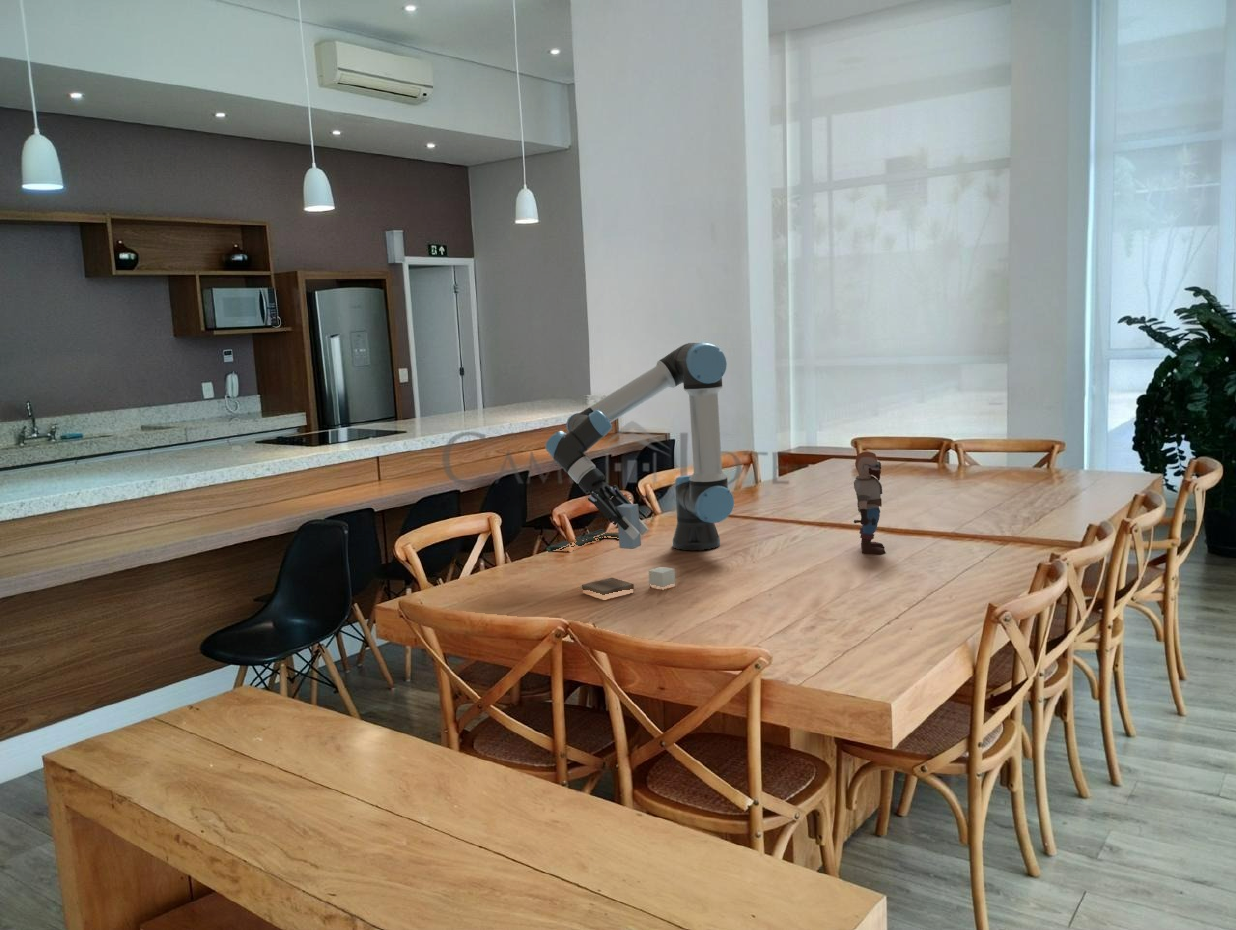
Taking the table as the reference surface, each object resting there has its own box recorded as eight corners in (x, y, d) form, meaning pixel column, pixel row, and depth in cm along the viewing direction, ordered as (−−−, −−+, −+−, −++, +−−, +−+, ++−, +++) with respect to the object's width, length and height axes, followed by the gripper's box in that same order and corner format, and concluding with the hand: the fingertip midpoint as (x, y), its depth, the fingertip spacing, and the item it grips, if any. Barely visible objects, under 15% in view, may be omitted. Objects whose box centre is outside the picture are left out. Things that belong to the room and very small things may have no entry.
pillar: (627, 544, 283) (624, 503, 281) (641, 545, 281) (638, 504, 279) (619, 548, 279) (616, 506, 278) (633, 549, 277) (630, 507, 275)
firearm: (580, 549, 312) (544, 545, 321) (581, 556, 313) (544, 552, 321) (631, 531, 335) (595, 527, 344) (631, 537, 336) (596, 534, 344)
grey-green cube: (661, 584, 272) (661, 566, 271) (675, 586, 269) (674, 568, 268) (649, 588, 269) (648, 570, 268) (663, 591, 265) (662, 573, 264)
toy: (887, 559, 284) (885, 456, 280) (854, 559, 286) (852, 457, 282) (882, 541, 306) (880, 446, 301) (852, 542, 307) (849, 447, 303)
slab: (612, 588, 273) (611, 577, 272) (634, 594, 265) (633, 584, 264) (582, 595, 267) (581, 584, 266) (603, 602, 259) (603, 591, 258)
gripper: (596, 479, 293) (648, 536, 287) (563, 490, 278) (618, 550, 272) (609, 462, 289) (663, 519, 283) (577, 472, 274) (633, 532, 268)
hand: (641, 534), depth 278 cm, fingers closed on pillar, 4 cm apart
